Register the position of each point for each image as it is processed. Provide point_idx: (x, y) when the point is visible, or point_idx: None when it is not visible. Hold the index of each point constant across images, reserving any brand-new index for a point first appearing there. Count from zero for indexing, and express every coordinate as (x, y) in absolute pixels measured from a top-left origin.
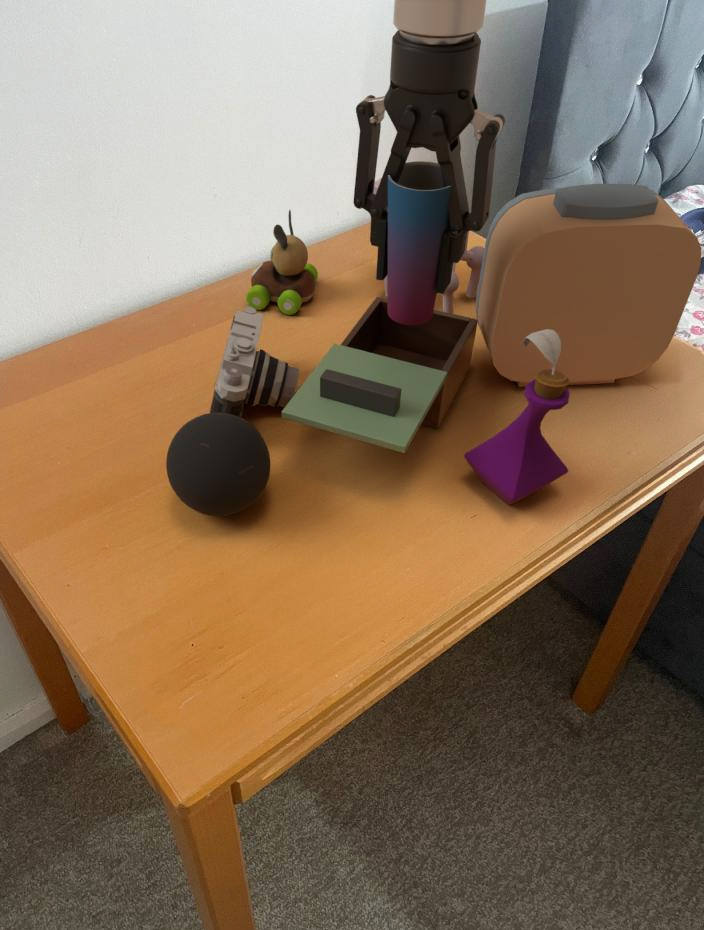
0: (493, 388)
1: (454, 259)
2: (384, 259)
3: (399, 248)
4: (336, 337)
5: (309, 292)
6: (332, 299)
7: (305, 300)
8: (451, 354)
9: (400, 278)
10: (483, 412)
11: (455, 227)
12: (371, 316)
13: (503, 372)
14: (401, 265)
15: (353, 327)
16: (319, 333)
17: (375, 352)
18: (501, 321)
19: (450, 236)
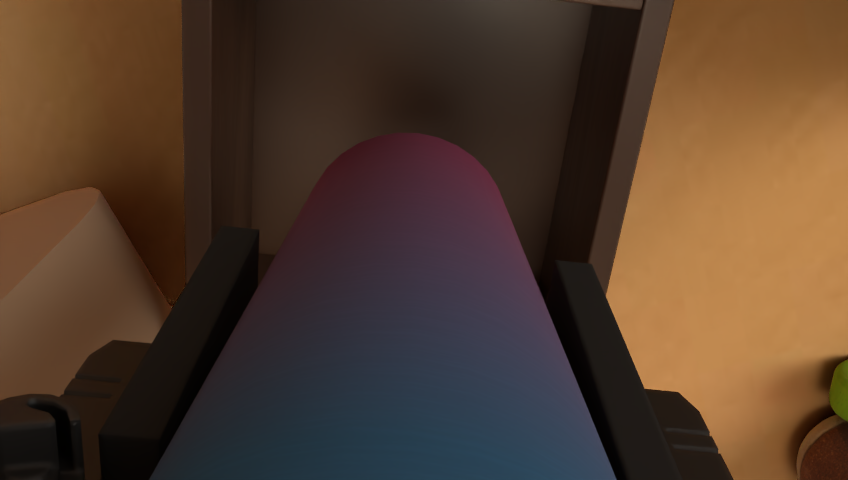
0: (134, 182)
1: (131, 354)
2: (573, 325)
3: (475, 296)
4: (680, 291)
5: (815, 451)
6: (728, 465)
7: (816, 427)
8: (207, 106)
9: (446, 212)
10: (124, 51)
11: (37, 477)
12: None
13: (78, 193)
14: (447, 241)
15: (633, 173)
16: (739, 296)
17: (537, 232)
18: (20, 269)
19: (105, 429)
